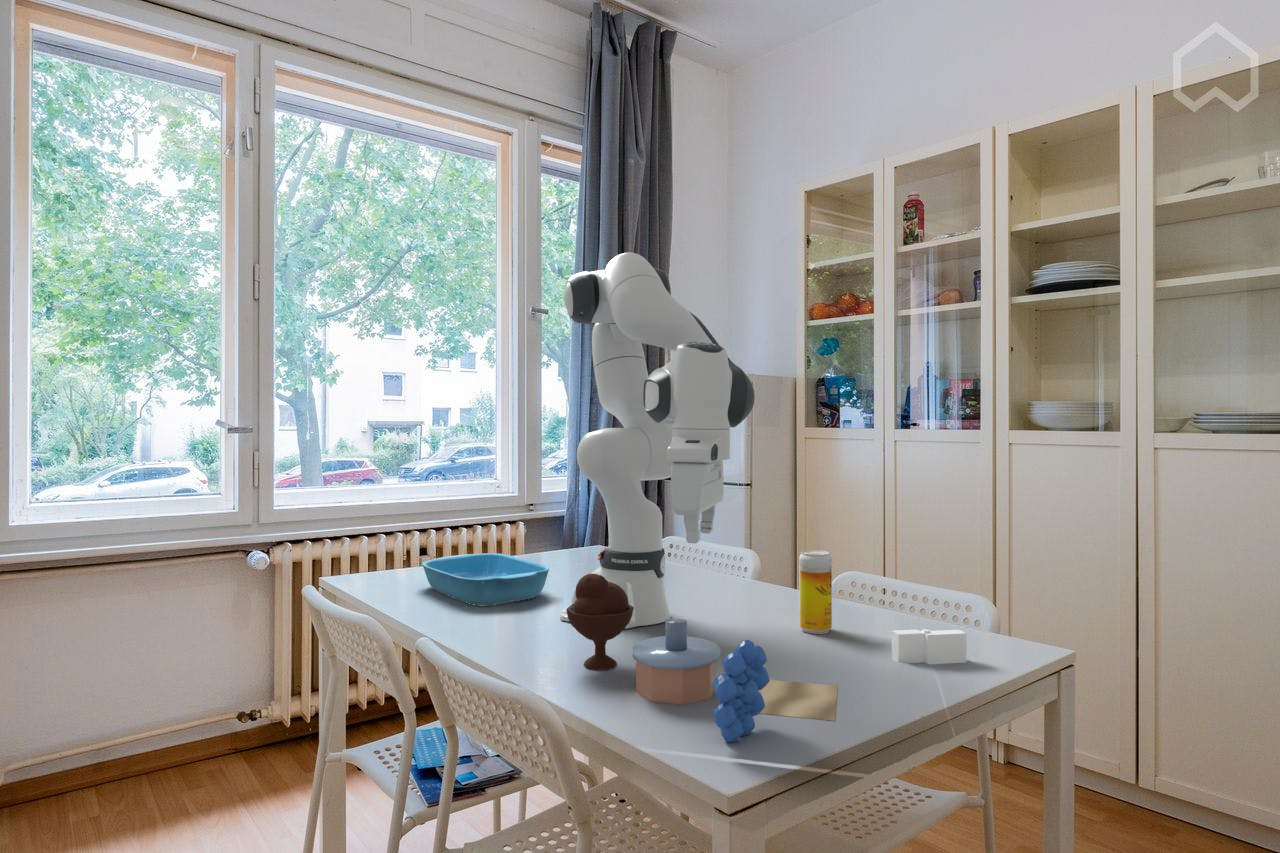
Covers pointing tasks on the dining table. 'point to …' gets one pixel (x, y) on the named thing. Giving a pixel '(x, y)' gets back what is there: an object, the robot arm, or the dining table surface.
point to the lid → (676, 649)
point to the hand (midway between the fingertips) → (700, 537)
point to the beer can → (815, 591)
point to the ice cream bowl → (599, 616)
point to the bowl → (675, 683)
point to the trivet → (800, 700)
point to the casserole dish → (486, 577)
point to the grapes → (740, 690)
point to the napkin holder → (929, 646)
